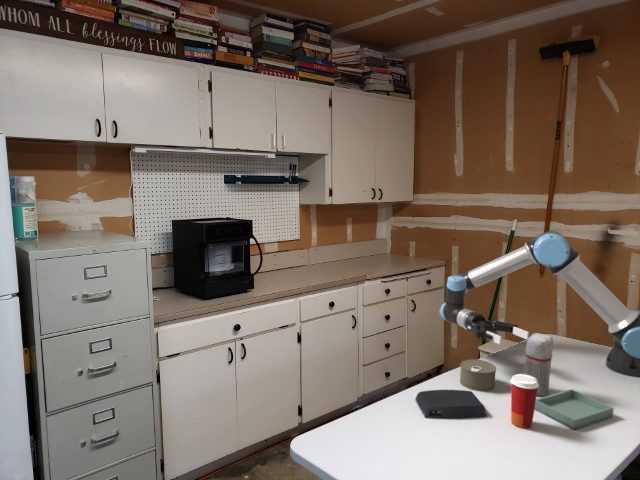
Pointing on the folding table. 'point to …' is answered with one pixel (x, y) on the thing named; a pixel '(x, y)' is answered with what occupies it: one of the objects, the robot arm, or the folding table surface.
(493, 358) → the folding table surface
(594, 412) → the tray
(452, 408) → the external hard drive
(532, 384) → the paper cup
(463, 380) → the can
